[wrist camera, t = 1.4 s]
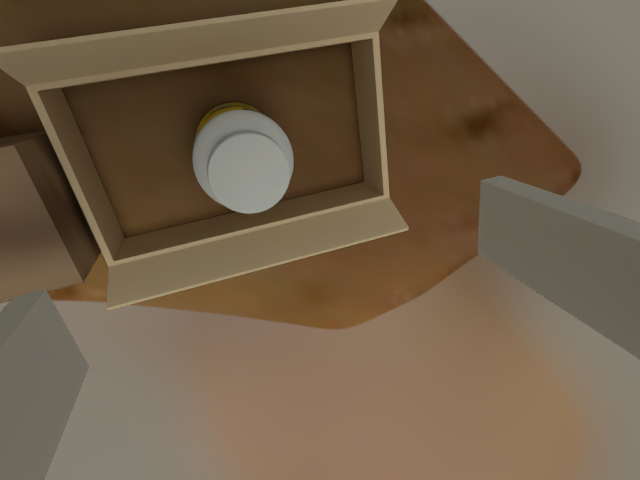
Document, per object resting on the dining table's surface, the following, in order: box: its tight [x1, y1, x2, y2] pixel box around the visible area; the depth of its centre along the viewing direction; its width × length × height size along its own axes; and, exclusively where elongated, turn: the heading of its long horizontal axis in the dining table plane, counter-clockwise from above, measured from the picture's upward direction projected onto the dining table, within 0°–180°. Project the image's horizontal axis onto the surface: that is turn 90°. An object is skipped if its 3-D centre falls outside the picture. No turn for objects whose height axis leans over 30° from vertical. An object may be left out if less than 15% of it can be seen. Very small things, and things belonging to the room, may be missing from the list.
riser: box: [0, 130, 101, 303], centre depth 25 cm, size 9×9×8 cm
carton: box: [0, 0, 409, 310], centre depth 28 cm, size 16×23×8 cm
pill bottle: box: [192, 102, 294, 214], centre depth 26 cm, size 6×6×12 cm
